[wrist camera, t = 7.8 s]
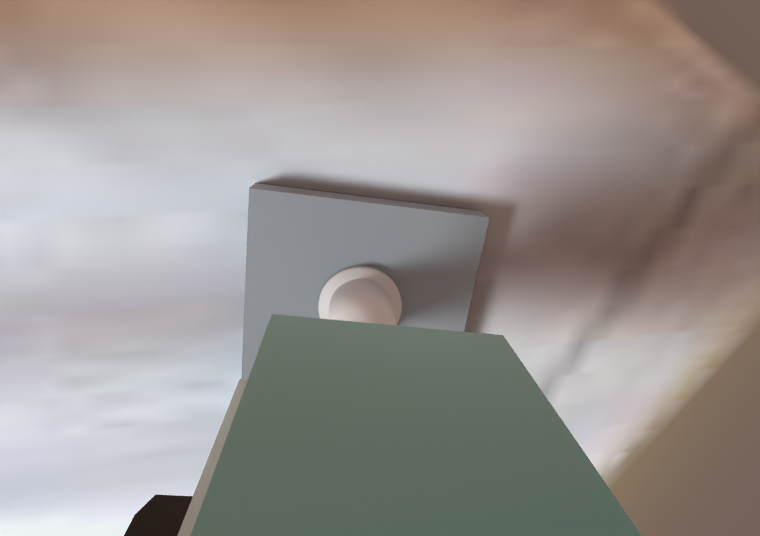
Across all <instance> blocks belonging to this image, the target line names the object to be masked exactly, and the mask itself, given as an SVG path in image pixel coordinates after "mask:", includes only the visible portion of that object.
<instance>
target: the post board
mask: <svg viewBox="0 0 760 536" xmlns="http://www.w3.org/2000/svg"><path fill="white" fill-rule="evenodd" d="M489 220H490V217H488V216H487V215H486V214H484V213H483V212H482V211H478V210H470V209H462V208H454V207H446V206H438V205H430V204H422V203H414V202H406V201H398V200H390V199H382V198H374V197H366V196H358V195H350V194H342V193H333V192H325V191H317V190H309V189H301V188H293V187H285V186H277V185H269V184H261V183H255V184H254V185H253V186H251V187H250V188H249V208H248V233H247V258H246V283H245V308H244V333H243V358H242V380H248V378H249V375H250V372H251V370H252V367H253V364H254V361H255V359H256V356H257V353H258V351H259V348H260V345H261V342H262V340H263V337H264V334H265V331H266V329H267V326H268V323H269V321H270V318H271V315H272V314H278V315H289V316H300V317H311V318H321V319H332V320H343V321H354V322H365V323H375V324H386V325H397V326H408V327H418V328H429V329H440V330H451V331H462V332H464V330H465V326H466V321H467V317H468V312H469V308H470V304H471V299H472V295H473V290H474V286H475V281H476V277H477V273H478V268H479V264H480V259H481V255H482V251H483V246H484V242H485V237H486V233H487V228H488V224H489Z"/></svg>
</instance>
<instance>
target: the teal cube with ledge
mask: <svg viewBox="0 0 760 536" xmlns="http://www.w3.org/2000/svg"><path fill="white" fill-rule="evenodd" d="M191 536H642V535H641V534H640V532H639V531H638V529H637V528H636V526H635V525H634V524H633V522H632V521H631V519H630V518H629V516H628V515H627V513H626V512H625V511H624V509H623V508H622V506H621V505H620V503H619V502H618V500H617V499H616V498H615V496H614V495H613V493H612V492H611V490H610V489H609V488H608V486H607V485H606V483H605V482H604V480H603V479H602V477H601V476H600V475H599V473H598V472H597V470H596V469H595V467H594V466H593V464H592V463H591V462H590V460H589V459H588V457H587V456H586V454H585V453H584V451H583V450H582V449H581V447H580V446H579V444H578V443H577V441H576V440H575V438H574V437H573V436H572V434H571V433H570V431H569V430H568V428H567V427H566V425H565V424H564V423H563V421H562V420H561V418H560V417H559V415H558V414H557V412H556V411H555V410H554V408H553V407H552V405H551V404H550V402H549V401H548V400H547V398H546V397H545V395H544V394H543V392H542V391H541V389H540V388H539V387H538V385H537V384H536V382H535V381H534V379H533V378H532V376H531V375H530V374H529V372H528V371H527V369H526V368H525V366H524V365H523V363H522V362H521V361H520V359H519V358H518V356H517V355H516V353H515V352H514V350H513V349H512V348H511V346H510V345H509V343H508V342H507V340H506V339H505V337H504V336H503V335H494V334H483V333H472V332H462V331H451V330H440V329H429V328H418V327H408V326H397V325H386V324H375V323H365V322H354V321H343V320H332V319H321V318H311V317H300V316H289V315H278V314H272V315H271V318H270V321H269V323H268V326H267V329H266V331H265V334H264V337H263V340H262V342H261V345H260V348H259V351H258V353H257V356H256V359H255V361H254V364H253V367H252V370H251V372H250V375H249V378H248V380H247V383H246V386H245V389H244V391H243V394H242V397H241V399H240V402H239V405H238V408H237V410H236V413H235V416H234V419H233V421H232V424H231V427H230V429H229V432H228V435H227V438H226V440H225V443H224V446H223V448H222V451H221V454H220V457H219V459H218V462H217V465H216V468H215V470H214V473H213V476H212V478H211V481H210V484H209V487H208V489H207V492H206V495H205V497H204V500H203V503H202V506H201V508H200V511H199V514H198V517H197V519H196V522H195V525H194V527H193V530H192V533H191Z"/></svg>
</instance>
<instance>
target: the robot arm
mask: <svg viewBox="0 0 760 536" xmlns="http://www.w3.org/2000/svg"><path fill="white" fill-rule="evenodd" d="M246 383H247V380H242V379H240V380H239V383H238V385H237V388H236V390H235V393H234V395H233V398H232V400H231V403H230V405H229V408H228V410H227V413H226V415H225V418H224V420H223V423H222V425H221V428H220V430H219V433H218V435H217V438H216V440H215V443H214V445H213V448H212V450H211V453H210V455H209V458H208V460H207V463H206V465H205V468H204V470H203V473H202V475H201V478H200V480H199V483H198V485H197V488H196V490H195V493H194V495H193V496H171V495H155V496H154V497H153V498H152V499H151V500H150V501H149V502H148V503H147V504H146V505H145V506H144V507H143V508H142V509H141V510H139V511H138V512H137V513H136V514H135V516H134V518H133V519H132V521H131V523H130V525H129V527H128V529H127V531H126V533H125V535H124V536H191V533H192V530H193V527H194V525H195V522H196V519H197V517H198V514H199V511H200V508H201V506H202V503H203V500H204V497H205V495H206V492H207V489H208V487H209V484H210V481H211V478H212V476H213V473H214V470H215V468H216V465H217V462H218V459H219V457H220V454H221V451H222V448H223V446H224V443H225V440H226V438H227V435H228V432H229V429H230V427H231V424H232V421H233V419H234V416H235V413H236V410H237V408H238V405H239V402H240V399H241V397H242V394H243V391H244V389H245V386H246Z"/></svg>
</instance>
